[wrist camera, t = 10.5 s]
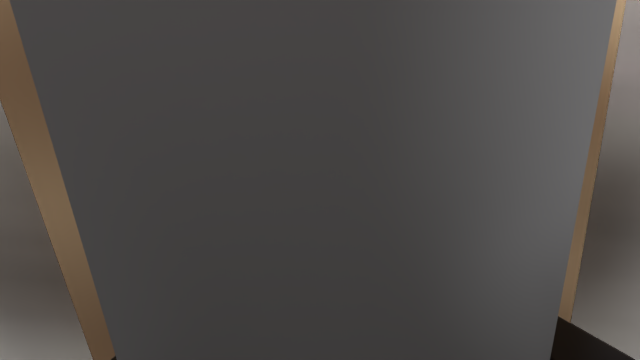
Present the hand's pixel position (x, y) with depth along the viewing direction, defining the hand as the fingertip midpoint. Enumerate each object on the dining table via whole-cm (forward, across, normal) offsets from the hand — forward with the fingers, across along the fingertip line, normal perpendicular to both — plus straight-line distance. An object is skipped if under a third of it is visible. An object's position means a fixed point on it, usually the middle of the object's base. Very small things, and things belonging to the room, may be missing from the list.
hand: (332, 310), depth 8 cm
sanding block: (+1, 0, -5) cm, 5 cm away
